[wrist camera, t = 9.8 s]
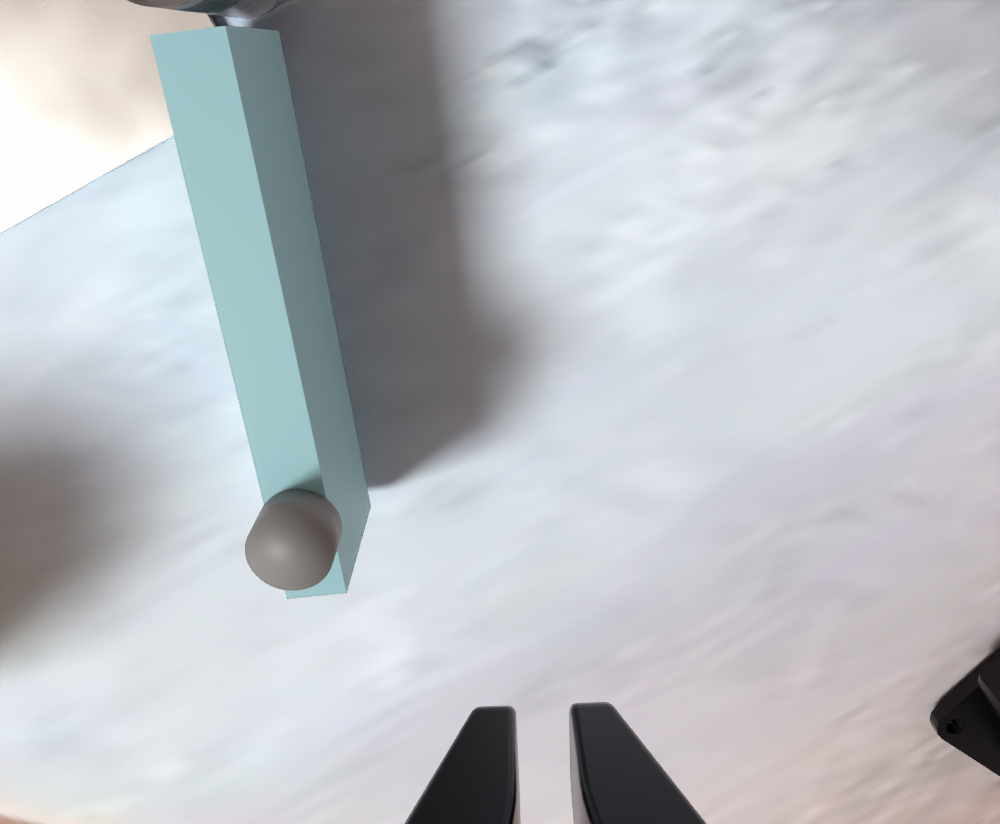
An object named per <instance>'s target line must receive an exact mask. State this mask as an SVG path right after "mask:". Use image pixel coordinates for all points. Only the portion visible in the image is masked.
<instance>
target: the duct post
mask: <svg viewBox="0 0 1000 824" xmlns="http://www.w3.org/2000/svg"><path fill="white" fill-rule="evenodd" d="M279 1H280V0H0V233H2V232H3V231H5V230H7V229H9V228H10V227H12V226H14V225H16V224H18V223H19V222H21V221H23V220H25V219H26V218H28V217H30V216H32V215H34V214H35V213H37V212H39V211H41V210H43V209H44V208H46V207H48V206H50V205H51V204H53V203H55V202H57V201H59V200H60V199H62V198H64V197H66V196H67V195H69V194H71V193H73V192H75V191H76V190H78V189H80V188H82V187H83V186H85V185H87V184H89V183H91V182H92V181H94V180H96V179H98V178H100V177H101V176H103V175H105V174H107V173H108V172H110V171H112V170H114V169H116V168H117V167H119V166H121V165H123V164H124V163H126V162H128V161H130V160H132V159H133V158H135V157H137V156H139V155H140V154H142V153H144V152H146V151H148V150H149V149H151V148H153V147H155V146H157V145H158V144H160V143H162V142H164V141H165V140H167V139H169V138H171V137H173V136H174V134H173V130H172V126H171V121H170V117H169V113H168V109H167V105H166V101H165V97H164V93H163V89H162V85H161V81H160V76H159V72H158V68H157V64H156V60H155V56H154V52H153V48H152V44H151V40H150V36H149V35H156V34H164V33H172V32H180V31H188V30H195V29H203V28H211V27H217V26H216V24H215V22H214V21H213V19H212V17H211V15H219V16H227V17H235V18H243V19H250V18H256V17H259V16H262V15H264V14H266V13H268V12H269V11H271V10H272V9H273V8H274V7H275V6H276V5H277V4H278V3H279ZM210 14H211V15H210Z"/></svg>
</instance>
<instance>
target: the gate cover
mask: <svg viewBox="0 0 1000 824" xmlns="http://www.w3.org/2000/svg"><path fill="white" fill-rule="evenodd" d="M149 36H150V40H151V44H152V48H153V52H154V56H155V60H156V64H157V68H158V72H159V76H160V81H161V85H162V89H163V93H164V97H165V101H166V105H167V109H168V113H169V117H170V121H171V126H172V130H173V134H174V138H175V142H176V146H177V150H178V154H179V158H180V162H181V167H182V171H183V175H184V179H185V183H186V187H187V191H188V195H189V199H190V203H191V207H192V212H193V216H194V220H195V224H196V228H197V232H198V236H199V240H200V244H201V248H202V252H203V257H204V261H205V265H206V269H207V273H208V277H209V281H210V285H211V289H212V293H213V298H214V302H215V306H216V310H217V314H218V318H219V322H220V326H221V330H222V334H223V338H224V343H225V347H226V351H227V355H228V359H229V363H230V367H231V371H232V375H233V379H234V384H235V388H236V392H237V396H238V400H239V404H240V408H241V412H242V416H243V420H244V424H245V429H246V433H247V437H248V441H249V445H250V449H251V453H252V457H253V461H254V465H255V469H256V474H257V478H258V482H259V486H260V490H261V494H262V498H263V502H264V506H263V508H262V510H261V512H260V513H259V515H258V517H257V519H256V521H255V523H254V525H253V527H252V529H251V531H250V533H249V535H248V537H247V540H246V544H245V554H246V559H247V562H248V564H249V566H250V568H251V569H252V571H253V572H254V573H255V574H256V576H257V577H259V578H260V579H261V580H262V581H264V582H265V583H267V584H269V585H270V586H273V587H275V588H278V589H282V590H285V592H286V596H287V599H292V598H302V597H312V596H322V595H332V594H342V593H347V590H348V586H349V582H350V579H351V575H352V572H353V568H354V565H355V561H356V557H357V554H358V550H359V547H360V543H361V540H362V536H363V533H364V529H365V525H366V522H367V518H368V515H369V511H370V508H371V505H370V500H369V495H368V490H367V484H366V479H365V474H364V469H363V464H362V458H361V453H360V448H359V443H358V438H357V433H356V427H355V422H354V417H353V412H352V407H351V401H350V396H349V391H348V386H347V381H346V375H345V370H344V365H343V360H342V355H341V350H340V344H339V339H338V334H337V329H336V324H335V318H334V313H333V308H332V303H331V298H330V293H329V287H328V282H327V277H326V272H325V267H324V261H323V256H322V251H321V246H320V241H319V236H318V230H317V225H316V220H315V215H314V210H313V204H312V199H311V194H310V189H309V184H308V179H307V173H306V168H305V163H304V158H303V153H302V147H301V142H300V137H299V132H298V127H297V122H296V116H295V111H294V106H293V101H292V96H291V90H290V85H289V80H288V75H287V70H286V65H285V59H284V54H283V49H282V44H281V39H280V33H279V30H268V29H257V28H245V27H234V26H219V27H211V28H203V29H195V30H188V31H180V32H172V33H164V34H156V35H149Z"/></svg>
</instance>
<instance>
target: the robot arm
mask: <svg viewBox="0 0 1000 824" xmlns="http://www.w3.org/2000/svg"><path fill="white" fill-rule="evenodd" d="M953 719H956V720H955V721H954V722H952V723H949V722H950V721H952V720H953ZM930 722H931V725H932V726H933V728H934V729H935V731H936V732H937V734H938V735H939V736H940V737H941V738H942V739H943V740H945V741H946V742H948V743H949V744H951V745H952V746H954V747H956V748H957V749H959V750H960V751H962V752H963V753H965V754H966V755H968V756H969V757H971V758H973V759H974V760H976V761H977V762H979V763H980V764H982V765H983V766H985V767H986V768H988V769H990V770H991V771H993V772H994V773H996V774H997V775H999V776H1000V650H999V651H998V652H997V653H996V654H995V655H994V656H993V657H991V658H990V659H989V660H988V661H987V662H986V663H985V664H984V665H982V666H981V667H980V668H979V669H978V670H977V671H976V672H975V673H973V674H972V675H971V676H970V677H969V678H968V679H967V680H966V681H965V682H963V683H962V684H961V685H960V686H959V687H958V688H957V689H956V690H954V691H953V692H952V693H951V694H950V695H949V696H948V697H947V698H945V699H944V700H943V701H942V702H941V703H940V704H939V705H938V706H936V707H935V709H934V710H933V711H932V712H931V716H930ZM569 732H570V776H571V792H572V805H573V818H574V824H706V823H705V821H704V820H703V819H702V818H701V816H700V815H699V814H698V812H697V811H696V810H695V809H694V807H693V806H692V805H691V804H690V802H689V801H688V800H687V799H686V797H685V796H684V795H683V794H682V792H681V791H680V790H679V788H678V787H677V786H676V785H675V783H674V782H673V781H672V780H671V778H670V777H669V776H668V775H667V773H666V772H665V771H664V770H663V768H662V767H661V766H660V764H659V763H658V762H657V761H656V759H655V758H654V757H653V756H652V754H651V753H650V752H649V751H648V749H647V748H646V747H645V746H644V744H643V743H642V742H641V740H640V739H639V738H638V737H637V735H636V734H635V733H634V732H633V730H632V729H631V728H630V727H629V725H628V724H627V723H626V722H625V720H624V719H623V718H622V716H621V715H620V714H619V713H618V711H617V710H616V709H615V708H614V707H613V705H611V704H609V703H607V702H593V703H575V704H573V705H572V706H571V708H570V711H569ZM405 824H521V823H520V793H519V768H518V747H517V726H516V712H515V710H514V708H513V707H511V706H485V707H477V708H475V709H474V710H473V711H472V713H471V714H470V716H469V717H468V719H467V721H466V722H465V724H464V726H463V727H462V729H461V731H460V732H459V734H458V736H457V737H456V739H455V741H454V742H453V744H452V746H451V747H450V749H449V751H448V752H447V754H446V756H445V757H444V759H443V761H442V762H441V764H440V766H439V767H438V769H437V771H436V772H435V774H434V776H433V777H432V779H431V781H430V782H429V784H428V786H427V787H426V789H425V791H424V792H423V794H422V796H421V797H420V799H419V801H418V802H417V804H416V806H415V807H414V809H413V811H412V812H411V814H410V816H409V817H408V819H407V820H406V822H405Z"/></svg>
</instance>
